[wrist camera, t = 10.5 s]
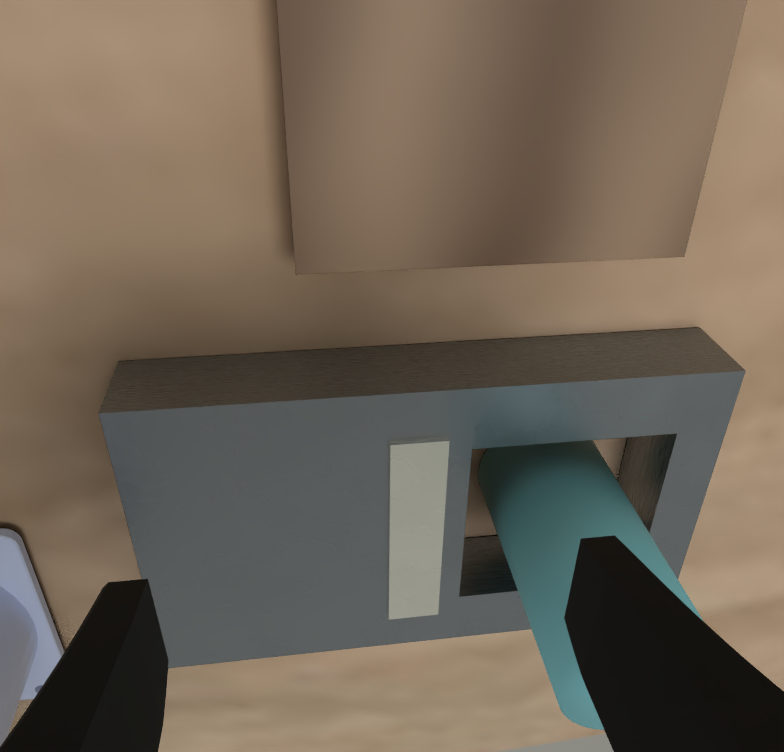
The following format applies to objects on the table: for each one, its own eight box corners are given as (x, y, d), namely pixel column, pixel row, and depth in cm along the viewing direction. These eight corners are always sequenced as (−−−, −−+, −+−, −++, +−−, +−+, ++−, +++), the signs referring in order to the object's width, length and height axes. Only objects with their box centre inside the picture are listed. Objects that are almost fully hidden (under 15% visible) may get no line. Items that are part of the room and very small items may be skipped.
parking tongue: (294, 251, 18) (295, 274, 17) (272, -67, 15) (271, -67, 13) (657, 235, 19) (684, 256, 18) (724, -62, 16) (762, -62, 14)
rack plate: (175, 606, 25) (164, 673, 22) (118, 361, 19) (97, 418, 17) (635, 560, 27) (668, 619, 24) (699, 327, 21) (749, 374, 19)
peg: (474, 516, 24) (547, 738, 18) (482, 422, 22) (570, 634, 15) (585, 506, 25) (698, 719, 18) (604, 413, 23) (740, 615, 16)
